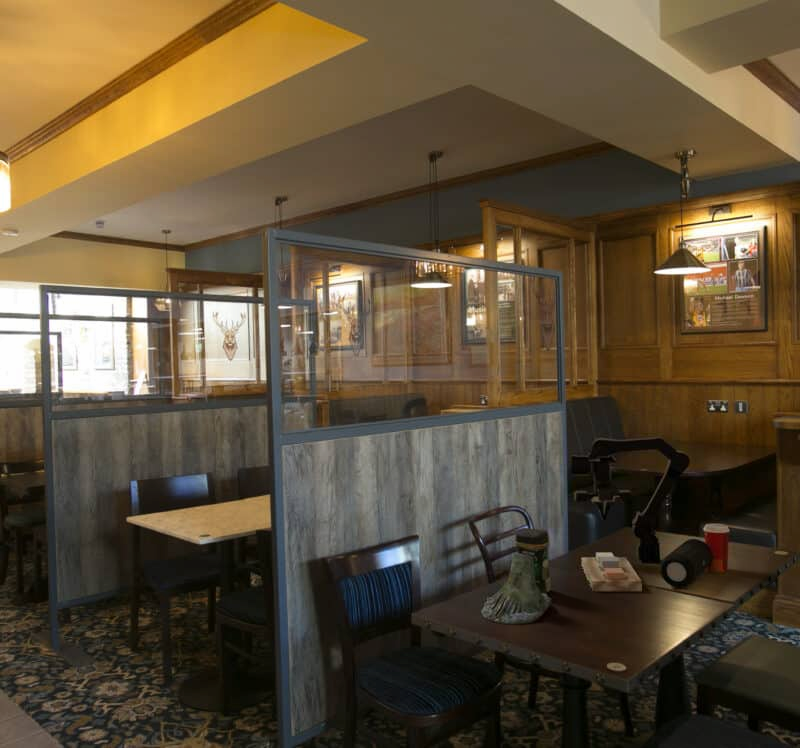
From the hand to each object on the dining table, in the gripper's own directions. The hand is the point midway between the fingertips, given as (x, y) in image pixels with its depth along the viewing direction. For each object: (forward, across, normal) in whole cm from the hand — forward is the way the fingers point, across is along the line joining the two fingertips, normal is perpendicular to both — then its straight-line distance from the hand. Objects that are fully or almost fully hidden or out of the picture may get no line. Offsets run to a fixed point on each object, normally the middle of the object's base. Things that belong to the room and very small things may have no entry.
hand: (604, 521), depth 241 cm
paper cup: (+13, +32, -14) cm, 37 cm away
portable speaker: (+13, +21, -23) cm, 34 cm away
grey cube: (+12, -2, -22) cm, 25 cm away
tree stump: (+13, -32, -52) cm, 62 cm away
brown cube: (+14, -2, -31) cm, 34 cm away
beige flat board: (+13, -2, -22) cm, 26 cm away
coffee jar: (+13, -26, -35) cm, 46 cm away
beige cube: (+14, -2, -13) cm, 19 cm away
